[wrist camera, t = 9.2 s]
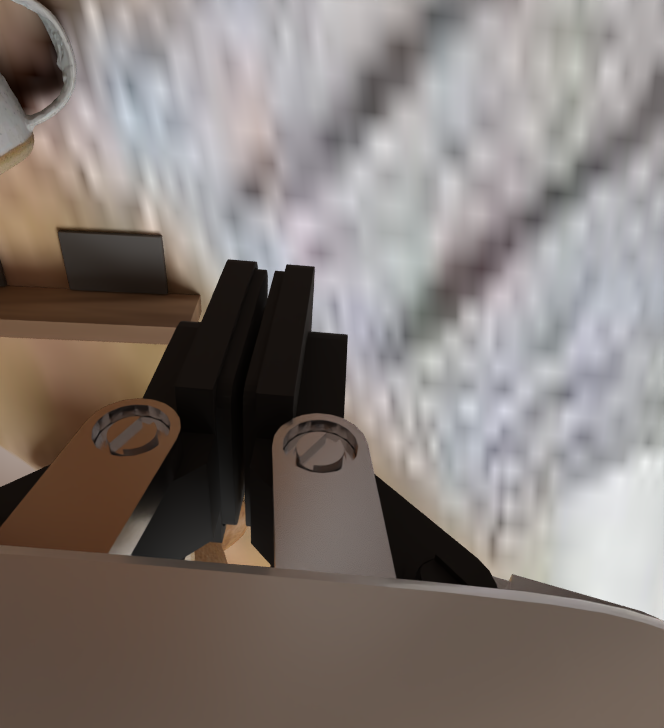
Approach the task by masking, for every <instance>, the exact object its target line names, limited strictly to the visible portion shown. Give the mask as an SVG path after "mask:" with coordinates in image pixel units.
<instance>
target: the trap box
mask: <svg viewBox="0 0 664 728" xmlns="http://www.w3.org/2000/svg"><path fill="white" fill-rule="evenodd" d="M58 236H59V240H60V245H61V250H62V254H63V259H64V263H65V268H66V273H67V277H68V282H69V287H70V289H62V288H42V287H21V286H6V285H7V282H6V279H5V275H4V272H3V268H2V265H1V261H0V337H14V338H36V339H58V340H80V341H102V342H124V343H146V344H169V342H170V340H171V338H172V336H173V334H174V331H175V329H176V327H177V325H178V324H179V322H180V321H192V322H198V320H199V317H200V315H201V299H200V295H186V294H168V286H167V277H166V268H165V259H164V250H163V241H162V236H161V235H142V234H122V233H103V232H84V231H65V230H59V231H58Z"/></svg>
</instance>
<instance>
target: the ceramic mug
mask: <svg viewBox="0 0 664 728" xmlns="http://www.w3.org/2000/svg"><path fill="white" fill-rule="evenodd" d="M12 1H14V2H16V3H18V4H21V5H23V6H25V7H26V8H27V9H29V10H32V11H34V12H36V13H37V14H38V15H39V17H40V18H41V20H42V21H43V23H44V25H45V27H46V29H47V31H48V33H49V35H50V38H51V40H52V42H53V44H54V47H55V50H56V53H57V56H58V59H57V65H58V67H59V68H60V70H61V71H62V75H63V82H64V86H63V88H62V90H61V92H60V95H59V96H58V97H57V98H56V99H55V100H54V101H53V102H52V104H50V105H49V106H47V107H46V108H45V109H43V110H42V111H40V112H38V113H36V114H33V115H31V116H30V115H26V114H25V112H24V111H23V109H22V107H21V106H20V104H19V102H18V99H17V98H16V96H15V95H14V93H13V92H12V90H11V89H10V87H9V85H8V83H7V81H6V80H5V78H4V77H3V76H2V75H1V73H0V174H2V173H4V172H5V171H7V170H9V169H10V168H12V167H14V166H15V165H17V164H18V163H19V162H21V161H22V160H24V159H25V158H26V157H27V156H28V155H29V154H30V153H31V151H32V149H33V145H34V135H33V132H32V130H33V128H34V126H35V125H37V124H40V123H42V122H44V121H46V120H48V119H50V118H51V117H52V116H54V115H55V114H56V113H57V112H59V111H60V110H61V109H62V108H63V107H64V106H65V104H66V103H67V102H68V100H69V99H70V97H71V95H72V93H73V91H74V87H75V83H76V61H75V56H74V53H73V50H72V47H71V44H70V41H69V39H68V37H67V35H66V33H65V31H64V29H63V27H62V26H61V24H60V23H59V21H58V20H57V18H56V17H55V16H54V15H53V14H52V12H51V11H50V10H48V9H47V8H46V7H45V6H44V5H42V4H41V3H40V2H38V1H37V0H12Z"/></svg>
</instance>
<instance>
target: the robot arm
mask: <svg viewBox="0 0 664 728" xmlns="http://www.w3.org/2000/svg"><path fill="white" fill-rule="evenodd" d="M314 274H315V267H312V266H300V265H288V264H287V265H286V269H285V272H284V271H275V273H274V277H273V280H272V284H271V288H270V292H269V295H268V274H267V270H260V269H258V266H257V262H253V261H241V260H229V259H228V260H227V262H226V264H225V267H224V269H223V272H222V274H221V276H220V279H219V281H218V283H217V286H216V288H215V291H214V293H213V295H212V298H211V300H210V303H209V305H208V307H207V310H206V312H205V314H204V317H203V319H202V322H192V321H180V322H179V324H178V325H177V327H176V329H175V331H174V334H173V336H172V338H171V340H170V342H169V344H168V346H167V348H166V350H165V352H164V355H163V357H162V359H161V361H160V363H159V365H158V367H157V369H156V371H155V373H154V375H153V378H152V380H151V382H150V384H149V386H148V388H147V390H146V392H145V394H144V396H143V399H141V398H137V399H128V400H122V401H119V402H116V403H112V404H109V405H107V406H105V407H104V408H102V409H100V410H98V411H96V412H95V413H94V414H93V415H92V416H91V417H90V418H89V419H88V420H87V421H86V422H85V423H84V424H83V426H82V427H81V428H80V429H79V431H78V432H77V433H76V434H75V435H74V437H73V438H72V439H71V440H70V442H69V443H68V444H67V445H66V447H65V448H64V449H63V450H62V452H61V453H60V454H59V455H58V456H57V458H56V459H55V460H54V461H53V463H52V464H51V465H48V466H46V467H44V468H42V469H40V470H37V471H35V472H33V473H31V474H28V475H26V476H24V477H22V478H20V479H17V480H15V481H13V482H11V483H9V484H6V485H4V486H2V487H0V728H664V621H663V620H660V619H658V618H656V617H654V616H651V615H649V614H647V613H645V612H642V611H639V610H635V609H632V608H628V607H625V606H621V605H618V604H614V603H611V602H607V601H604V600H600V599H597V598H593V597H590V596H587V595H583V594H580V593H576V592H573V591H569V590H566V589H562V588H559V587H555V586H552V585H548V584H545V583H541V582H538V581H534V580H531V579H527V578H524V577H520V576H517V575H513V574H512V575H511V578H510V580H509V581H507V580H504V579H500V578H497V577H493V576H492V575H491V573H490V571H489V570H488V569H487V568H486V567H485V566H484V565H483V564H482V562H481V561H480V560H479V559H478V558H477V557H475V556H474V555H473V554H472V553H470V552H469V551H468V550H467V549H466V548H464V547H463V546H462V545H461V544H459V543H458V542H457V541H456V540H454V539H453V538H452V537H451V536H450V535H448V534H447V533H446V532H445V531H443V530H442V529H441V528H440V527H439V526H437V525H436V524H435V523H434V522H432V521H431V520H430V519H429V518H428V517H426V516H425V515H424V514H423V513H421V512H420V511H419V510H418V509H417V508H415V507H414V506H413V505H412V504H410V503H409V502H408V501H407V500H406V499H404V498H403V497H402V496H401V495H399V494H398V493H397V492H396V491H395V490H393V489H392V488H391V487H390V486H388V485H387V484H386V483H385V482H384V481H382V480H381V479H380V478H379V477H377V476H376V475H375V474H374V471H373V466H372V461H371V456H370V452H369V447H368V443H367V441H366V439H365V436H364V434H363V433H362V432H361V431H360V430H359V429H358V428H357V427H356V426H355V425H354V424H352V423H351V422H349V421H347V420H345V419H344V404H345V383H346V362H347V341H348V335H346V334H334V333H322V332H311V326H312V309H313V292H314ZM244 492H245V522H246V526H251V544H252V545H253V546H254V547H255V548H256V549H257V550H258V551H259V553H260V554H261V555H262V556H263V557H264V558H265V559H266V560H267V561H268V562H269V563H270V565H271V566H270V567H261V566H249V565H237V564H225V563H213V562H201V561H195V554H194V551H196V550H198V549H199V548H201V547H202V546H204V545H206V544H207V543H209V542H214V543H222V542H223V538H224V534H225V529H226V525H237V523H238V520H239V515H240V511H241V506H242V502H243V497H244Z"/></svg>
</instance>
